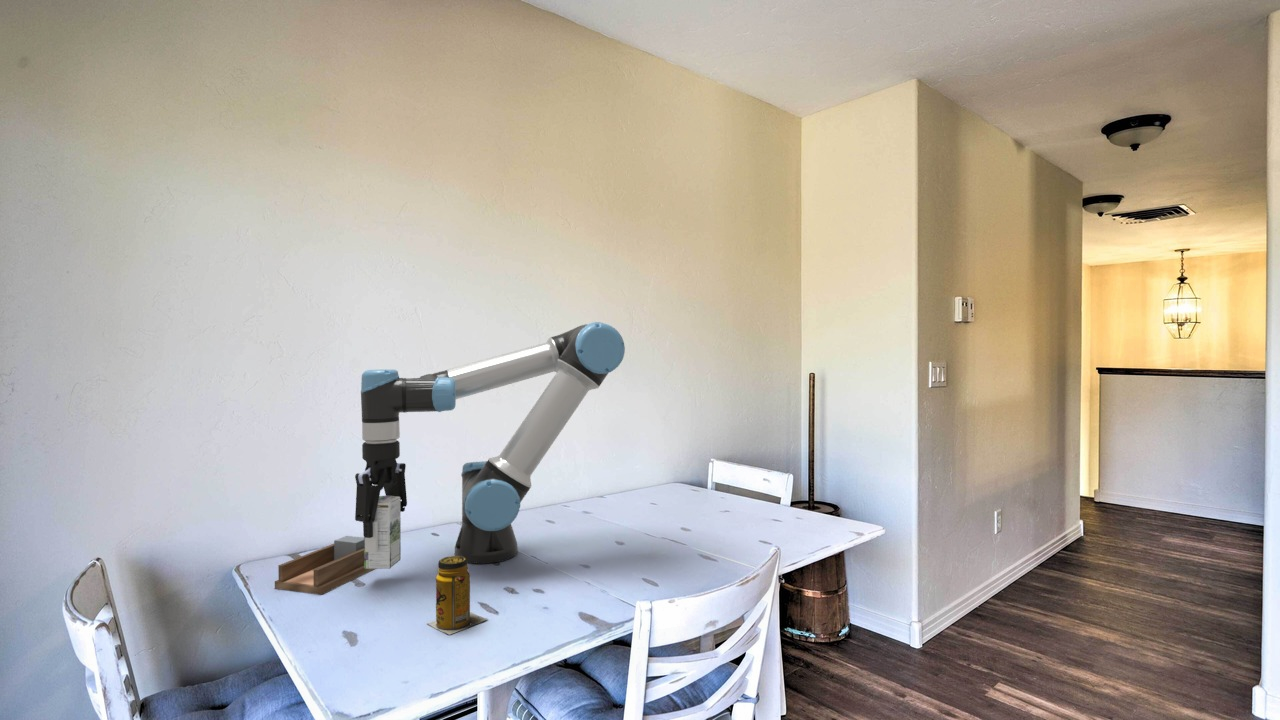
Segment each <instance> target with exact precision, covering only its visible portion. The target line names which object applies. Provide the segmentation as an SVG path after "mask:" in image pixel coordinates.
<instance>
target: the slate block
mask: <svg viewBox="0 0 1280 720" xmlns="http://www.w3.org/2000/svg"><path fill="white" fill-rule="evenodd" d="M333 542H334V543H333V544H334V561H335V560H337V559H340V558H342V557H344V556H347V555H349V554H351V553H354V552H356V551H358V550H361V549H363V548H364V536H363V537H361V536H351V535H344V536H342V537H340V538H338V539H334V540H333Z"/></svg>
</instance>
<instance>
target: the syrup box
mask: <svg viewBox="0 0 1280 720" xmlns="http://www.w3.org/2000/svg"><path fill="white" fill-rule="evenodd" d="M400 501H401V500H400V497H397V496H386V495H379V500H378V505H377V510H376V515H375V520H374V521H378V552H376V553H372V552H365V538H364V537H363V538H364V568H365V569H374V570H378V569H379V570H381V569H384V570H385V569H388V570H389V569H392V568H393V566H395V565H396V564H397V563H399V562H400V561H401V551H402V550H401V549H402V547H401V540H402V539H401V538H402V537H401V530H402V529H401V525H402V523H401V519H402V518H401V512H400ZM369 516H370V515H369Z"/></svg>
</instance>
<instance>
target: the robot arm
mask: <svg viewBox="0 0 1280 720" xmlns="http://www.w3.org/2000/svg"><path fill="white" fill-rule="evenodd" d="M625 346H626V345H625V342H624V339H623V336H622V335H621V334H620V332H619V331H618V330H617V328H615V327H613V326H612V325H610V324H607V323H604V322H600V321H598V322H597V321H595V322H594V321H593V322H591V323H587V324H586V323H585V324H581V325H579V326H577V327H574V328H573V329H570V330H568V331H565V332H563V333H560V334H557V335H554V336H550V337H549V338H548V339H547V341H546V342H544V343H543V342H542V343H540V344H536V345H533V346H529V347H525V348H522V349H518V350H514V351H510V352H506V353H504V354H500V355H497V356H496V355H495V356H492V357H489V358H485V359H482V360H481V359H480V360H478V361H474V362H471V363H467V364H463V365H460V366H456V367H455V366H454V367H452V368H449V369H446V370H442V371H437V372H434V373H428V374H424V375H421V376H420V377H412V378H411V377H410V378H406V377H400V375H399V371H398V370H397V369H367V370H365V371H363V373H362V374H361V382H360V383H361V384H360V385H361V386H360V387H361V389H360V398H361V399H360V405H361V422H362V424H361V428H362V429H361V430H362V431H361V432H362V434H361V436H362V438H361V439H362V440H363V441H364V442H362V446H361V447H362V448H361V452H362V453H361V454H362V459H363V460H364V461H365V462H366V465H365V469H364V471H363V472H362V473H359V472H358V473H355V476H354V478H355V483H356V492H355V493H356V494H355V495H356V496H355V513H354V515H355V517H354V520H355V522H360V523H363V525H362V526H363V527H362V528H363V533H362V534H363V538H365V552H372V553H376V552H378V521H374V520H375V515H376V510H377V505H378V500H379V496H381V495H380V494H381V491H382V490H384V491H383V492H384V495H385V496H397V497H400V513H401V512H405V511H406V507H407V505H408V499H407V497H408V496H407V485H406V476H405V474H406V465H407V464H406V463H404V462H403V463H402V462H398V461H397V459H399V458H400V456H401V455H400V454H401V452H400V450H401V449H400V447H401V445H400V441H399V440H398V439H399V438H401V437H400V435H401V432H400V417H399V416H400V413H404V414H405V413H420V412H421V413H424V412H425V413H428V412H429V413H430V412H438V413H442V412H449V411H453V410H454V409H456V403H457V402H456V400H459V399H462V398H465V397H469V396H473V395H476V394H479V393H483V392H486V391H490V390H494V389H498V388H501V387H504V386H509V385H512V384H514V383H519V382H522V381H525V380H530V379H532V378H536V377H540V376H544V375H546V374H550V373H555V375H554V376H553V378H552V379H551V380H550V382H549V383H548V385H547V386H546V388H545V389H544V390H543V392H542V393H541V395H540V396H539V398H538V399H537V401H536V402H535V404H534V405H533V406H532V408H531V409H530V410H529V412H528V413H527V415H526V416H525V418H524V419H523V421H522V422H521V423H520V425H519V427H518V428H517V429H516V431H515V432H514V434H513V435H512V436H511V438H510V440H509V441H508V442H507V444H506V445H505V446H504V448H503V450H502V451H501V452H500V454H499V455H497V456H494V457H493V456H492V457H489V458H488V459H487V460H485V461H482V460H481V461H471V462H465V463H464V464H463V465H462V469H461V471H462V472H461V493H462V494H461V501H462V502H461V516H462V517H461V527H460V529H459V533H458V536H457V540H456V542H455V545H454V556H462V557H465V558H467V560H468V564H494V563H499V562H502V561H507V560H509V559H511V558H514V557H515V556H516V555H517V554H518V542H517V541H518V540H517V537H516V535H515V533H514V532H515V531H514V529H513V525H512V523H513V522H514V521H515V520H516V518H517V517H518V514H519V512H520V508H521V502H522V501H523V500H524V498H525V497H526V495H527V493H528V492H529V491H530V489H532V480H531V476H532V475H533V473H534V472H535V470H536V469H537V467H538V466H539V465H540V463H541V461H542V459H543V458H544V457H545V456H546V454H547V453H548V451H549V450H550V448H551V447H552V445H553V444H554V442H555V441H556V440H557V438H558V436H559V435H560V433H561V432H562V430H563V429H564V427H566V425H567V423H568V422H569V420H570V419H571V417H572V416H573V414H574V413H575V412H576V410H577V408H578V407H579V405H580V404H581V402H582V401H583V400H584V399H585V397H586V395H587V394H588V392H589V391H592V390H597V389H599V388H600V387H601V385H602V383H603V382H604V380H605V379H606V377H608V374H609V373H611V372H613V371H614V370H617V368H618V367H619V366H620V365H621V363H622V361H623V360H624V357H625V350H626V347H625ZM369 515H370V516H369Z"/></svg>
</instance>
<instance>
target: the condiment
mask: <svg viewBox="0 0 1280 720" xmlns="http://www.w3.org/2000/svg"><path fill="white" fill-rule="evenodd" d="M468 564H469V563H468V560H467V558H465V557H462V556H455V555H451V556H446V557H443V558H441V559H439V560H438V564H437V566H438V568H437V569H438V570H437V572H438V573H437V575H436V576H435V577H436V579H435V588H436V589H435V592H436V593H435V594H436V596H435V599H436V600H435V602H436V603H435V614H436V615H435V620H433V621H431V622H426V625H429V626H430V627H432V628H434V629H436V630H437V631H441V632H442V633H445V634H448V635H449V636H450V635H452V634H455V633H458V632H460V631H464V630H466V629H468V628H470V627H472V626H475V625H478V624H481V623H482V622H484V621H487V620H488V618H485V617H483V616H480V615H477V614H476V613H474V612H471V575H470V572H469V571H468V570H469V566H468Z"/></svg>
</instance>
